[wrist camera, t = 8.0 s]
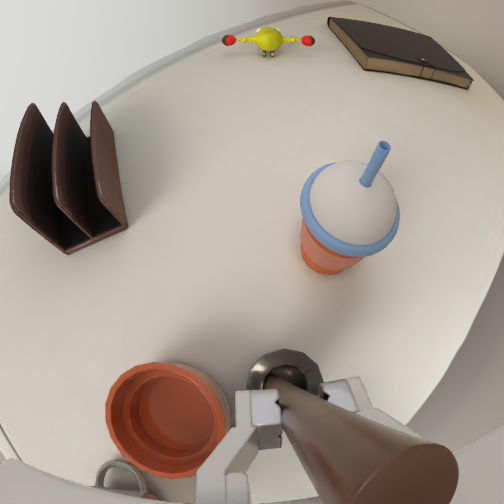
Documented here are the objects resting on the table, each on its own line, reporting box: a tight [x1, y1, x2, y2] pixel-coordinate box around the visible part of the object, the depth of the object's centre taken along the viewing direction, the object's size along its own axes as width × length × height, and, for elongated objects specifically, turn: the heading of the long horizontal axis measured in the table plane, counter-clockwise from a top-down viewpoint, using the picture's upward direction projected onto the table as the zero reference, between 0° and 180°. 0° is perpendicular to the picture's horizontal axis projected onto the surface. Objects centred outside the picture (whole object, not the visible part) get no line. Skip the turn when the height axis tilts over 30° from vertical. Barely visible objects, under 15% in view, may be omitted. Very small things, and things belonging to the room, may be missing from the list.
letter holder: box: [10, 101, 128, 255], centre depth 31 cm, size 10×20×14 cm, turn 22°
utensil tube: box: [246, 349, 324, 396], centre depth 24 cm, size 6×6×9 cm
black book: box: [327, 17, 474, 90], centre depth 51 cm, size 33×4×24 cm
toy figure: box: [222, 27, 315, 56], centre depth 46 cm, size 18×6×7 cm, turn 93°
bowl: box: [106, 362, 231, 479], centre depth 24 cm, size 11×11×6 cm
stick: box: [263, 375, 459, 504], centre depth 12 cm, size 2×2×22 cm
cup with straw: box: [300, 141, 400, 275], centre depth 25 cm, size 9×9×18 cm
